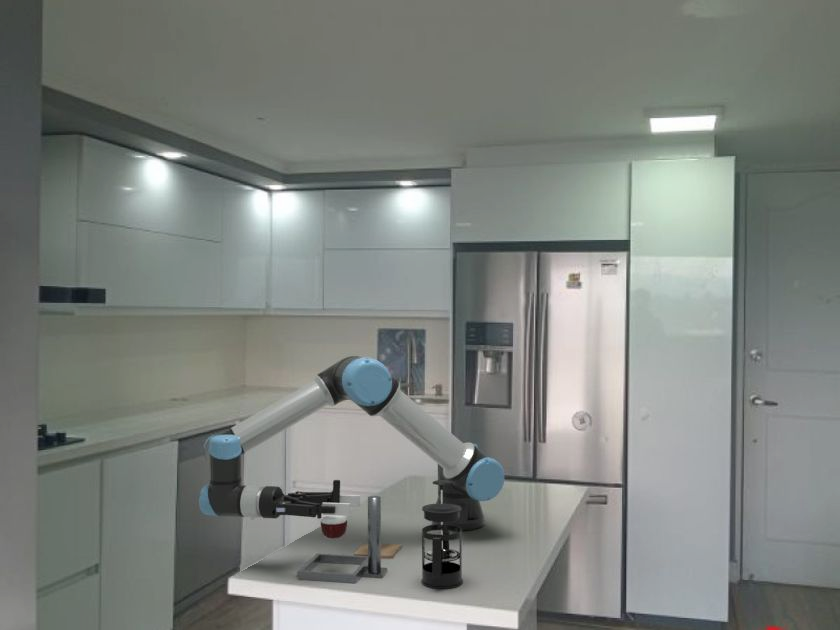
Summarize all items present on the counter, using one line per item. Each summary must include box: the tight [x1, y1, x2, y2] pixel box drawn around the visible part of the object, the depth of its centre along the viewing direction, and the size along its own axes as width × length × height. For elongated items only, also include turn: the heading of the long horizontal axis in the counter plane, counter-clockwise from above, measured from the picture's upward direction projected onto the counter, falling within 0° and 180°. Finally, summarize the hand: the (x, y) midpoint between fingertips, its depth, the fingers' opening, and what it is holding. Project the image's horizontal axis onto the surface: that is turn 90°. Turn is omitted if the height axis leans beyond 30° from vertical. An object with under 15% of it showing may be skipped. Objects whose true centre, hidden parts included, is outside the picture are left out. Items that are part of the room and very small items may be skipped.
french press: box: [420, 479, 464, 590], centre depth 179 cm, size 12×9×23 cm
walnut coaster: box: [353, 542, 403, 559], centre depth 203 cm, size 10×10×1 cm
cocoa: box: [319, 479, 349, 539], centre depth 186 cm, size 10×6×12 cm, turn 155°
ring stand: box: [296, 495, 388, 584], centre depth 187 cm, size 19×14×18 cm
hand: (354, 505), depth 186 cm, fingers closed on cocoa, 7 cm apart
